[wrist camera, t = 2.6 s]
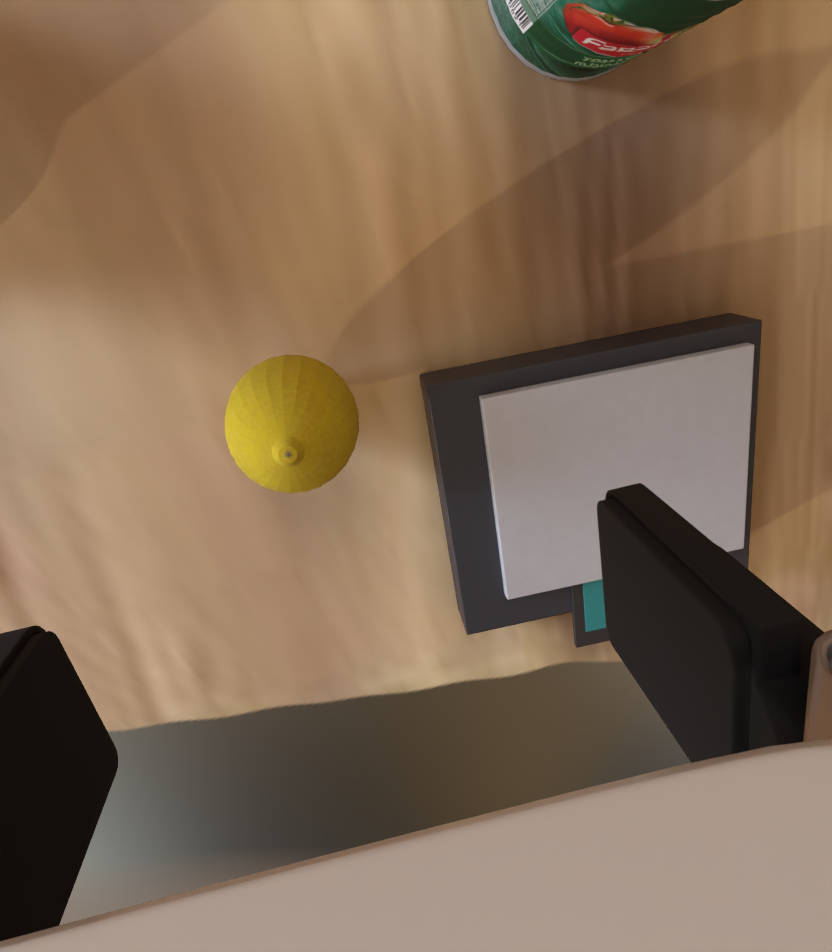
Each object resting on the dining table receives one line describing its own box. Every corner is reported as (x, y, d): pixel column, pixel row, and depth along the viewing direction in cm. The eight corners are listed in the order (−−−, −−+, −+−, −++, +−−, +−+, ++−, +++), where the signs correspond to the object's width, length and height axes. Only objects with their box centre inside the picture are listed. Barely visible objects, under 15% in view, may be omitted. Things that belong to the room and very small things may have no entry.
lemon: (370, 430, 31) (383, 494, 24) (266, 466, 31) (247, 542, 24) (331, 323, 29) (332, 358, 22) (218, 362, 29) (181, 411, 22)
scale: (463, 640, 37) (474, 676, 34) (419, 373, 30) (428, 389, 27) (720, 583, 38) (752, 613, 35) (730, 312, 31) (770, 321, 28)
